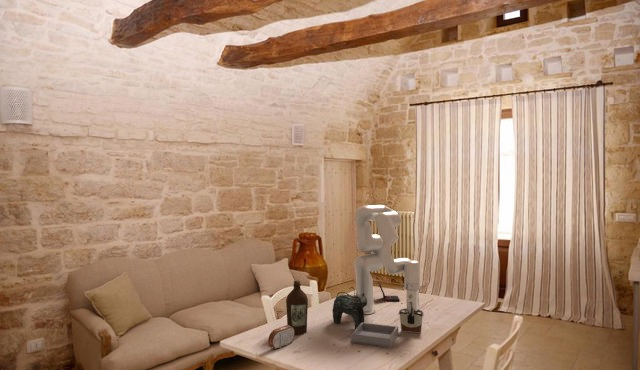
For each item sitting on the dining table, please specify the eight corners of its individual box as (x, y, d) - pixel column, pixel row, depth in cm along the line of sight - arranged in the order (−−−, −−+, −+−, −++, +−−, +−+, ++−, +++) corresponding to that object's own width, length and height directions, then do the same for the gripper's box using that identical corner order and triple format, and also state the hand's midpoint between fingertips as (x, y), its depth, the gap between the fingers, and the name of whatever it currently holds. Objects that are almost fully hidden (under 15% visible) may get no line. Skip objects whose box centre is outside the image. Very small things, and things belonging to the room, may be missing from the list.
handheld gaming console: (399, 302, 274) (399, 285, 274) (379, 302, 274) (379, 285, 274) (397, 297, 284) (397, 282, 283) (378, 297, 284) (377, 281, 284)
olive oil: (284, 329, 226) (284, 279, 225) (305, 327, 228) (305, 277, 228) (288, 336, 216) (287, 284, 215) (310, 334, 218) (309, 282, 217)
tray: (351, 343, 207) (351, 334, 207) (361, 330, 224) (361, 322, 224) (390, 348, 201) (390, 339, 201) (398, 334, 217) (398, 326, 217)
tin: (291, 340, 211) (291, 322, 210) (296, 342, 209) (296, 323, 208) (267, 350, 199) (267, 331, 199) (272, 352, 197) (272, 332, 197)
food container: (425, 329, 225) (425, 309, 225) (424, 333, 219) (424, 312, 219) (400, 326, 229) (400, 307, 229) (398, 330, 223) (398, 310, 223)
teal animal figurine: (368, 329, 226) (368, 288, 226) (360, 332, 221) (360, 291, 221) (337, 320, 239) (337, 282, 239) (329, 323, 235) (329, 284, 234)
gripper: (417, 290, 214) (417, 326, 214) (422, 282, 230) (422, 316, 230) (401, 289, 217) (401, 325, 217) (407, 281, 233) (408, 315, 233)
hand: (412, 320), depth 224 cm, fingers open, 9 cm apart
